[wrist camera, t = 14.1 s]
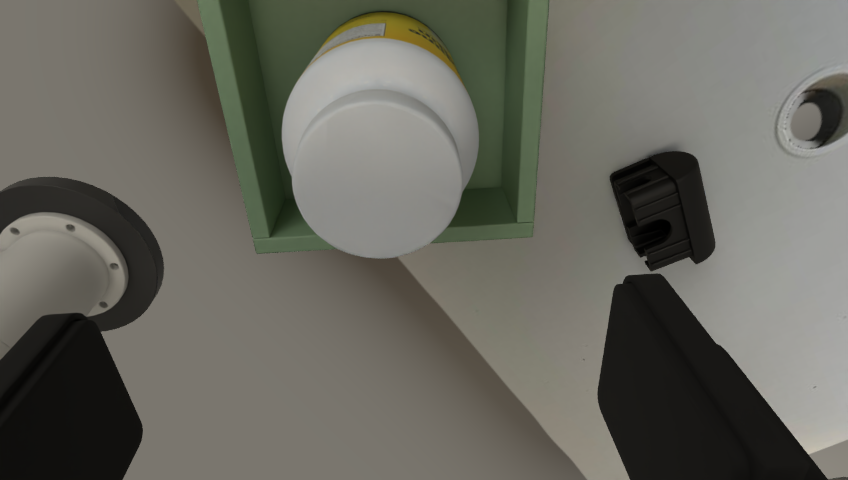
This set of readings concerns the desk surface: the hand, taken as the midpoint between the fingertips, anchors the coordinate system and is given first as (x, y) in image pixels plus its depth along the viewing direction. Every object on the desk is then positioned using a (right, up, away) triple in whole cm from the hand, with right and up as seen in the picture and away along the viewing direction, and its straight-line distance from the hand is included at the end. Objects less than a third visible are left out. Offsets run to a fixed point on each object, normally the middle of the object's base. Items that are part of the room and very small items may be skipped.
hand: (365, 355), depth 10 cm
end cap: (+25, +7, +46) cm, 53 cm away
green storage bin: (-1, +10, +15) cm, 18 cm away
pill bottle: (-1, +9, +15) cm, 18 cm away
